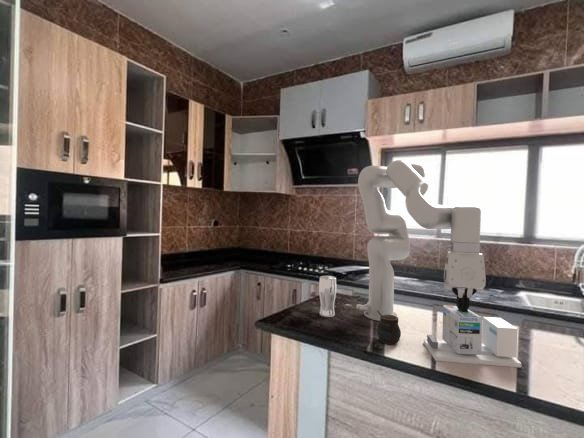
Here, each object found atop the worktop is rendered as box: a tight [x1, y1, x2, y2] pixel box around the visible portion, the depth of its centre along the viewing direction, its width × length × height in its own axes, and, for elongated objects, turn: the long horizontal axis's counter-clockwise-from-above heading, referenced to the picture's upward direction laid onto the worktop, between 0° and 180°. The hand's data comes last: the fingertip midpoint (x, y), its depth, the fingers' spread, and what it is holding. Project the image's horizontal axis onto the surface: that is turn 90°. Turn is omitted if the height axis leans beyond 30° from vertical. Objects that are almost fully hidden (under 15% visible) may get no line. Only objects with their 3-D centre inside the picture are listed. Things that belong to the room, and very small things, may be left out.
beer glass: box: [318, 275, 338, 318], centre depth 126 cm, size 7×7×15 cm
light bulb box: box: [441, 304, 483, 355], centre depth 93 cm, size 11×7×11 cm, turn 178°
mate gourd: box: [376, 311, 402, 346], centre depth 100 cm, size 7×8×10 cm
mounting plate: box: [423, 334, 522, 368], centre depth 93 cm, size 22×12×4 cm, turn 82°
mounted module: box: [482, 316, 518, 358], centre depth 91 cm, size 5×9×8 cm, turn 172°
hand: (462, 310), depth 93 cm, fingers closed
